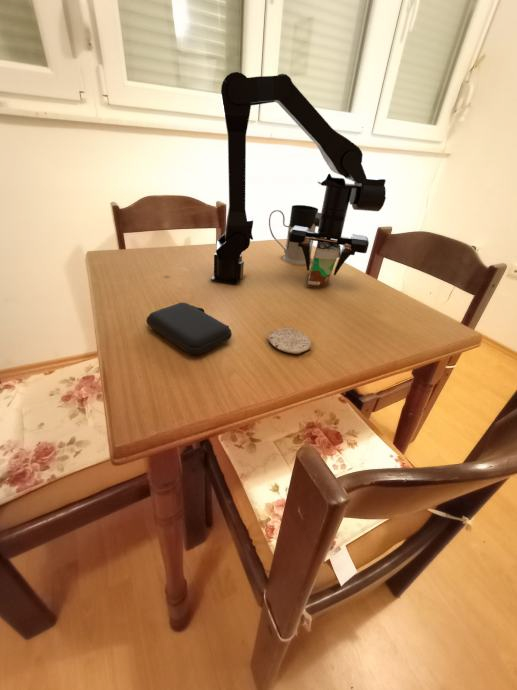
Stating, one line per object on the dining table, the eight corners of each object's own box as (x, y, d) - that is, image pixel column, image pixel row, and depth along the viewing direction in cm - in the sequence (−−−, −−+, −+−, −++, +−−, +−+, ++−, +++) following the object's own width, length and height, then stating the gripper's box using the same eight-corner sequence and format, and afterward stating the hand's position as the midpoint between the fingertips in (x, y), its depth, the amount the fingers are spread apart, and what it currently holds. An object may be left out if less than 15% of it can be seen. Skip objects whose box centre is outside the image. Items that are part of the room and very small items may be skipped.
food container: (331, 294, 77) (343, 254, 71) (306, 288, 77) (317, 249, 72) (331, 276, 87) (342, 240, 81) (310, 271, 88) (319, 235, 82)
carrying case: (240, 339, 56) (189, 309, 64) (241, 324, 55) (189, 295, 62) (193, 363, 50) (142, 326, 57) (193, 347, 48) (140, 312, 55)
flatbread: (262, 334, 58) (262, 329, 58) (297, 328, 61) (298, 324, 60) (280, 359, 52) (281, 354, 52) (319, 352, 55) (320, 347, 54)
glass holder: (312, 265, 93) (322, 212, 84) (265, 261, 92) (270, 207, 84) (309, 256, 100) (317, 206, 92) (265, 252, 100) (270, 201, 91)
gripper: (373, 207, 77) (357, 268, 86) (299, 197, 80) (290, 257, 89) (376, 216, 68) (358, 283, 77) (293, 204, 71) (284, 270, 80)
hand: (321, 272), depth 81 cm, fingers closed on food container, 6 cm apart
